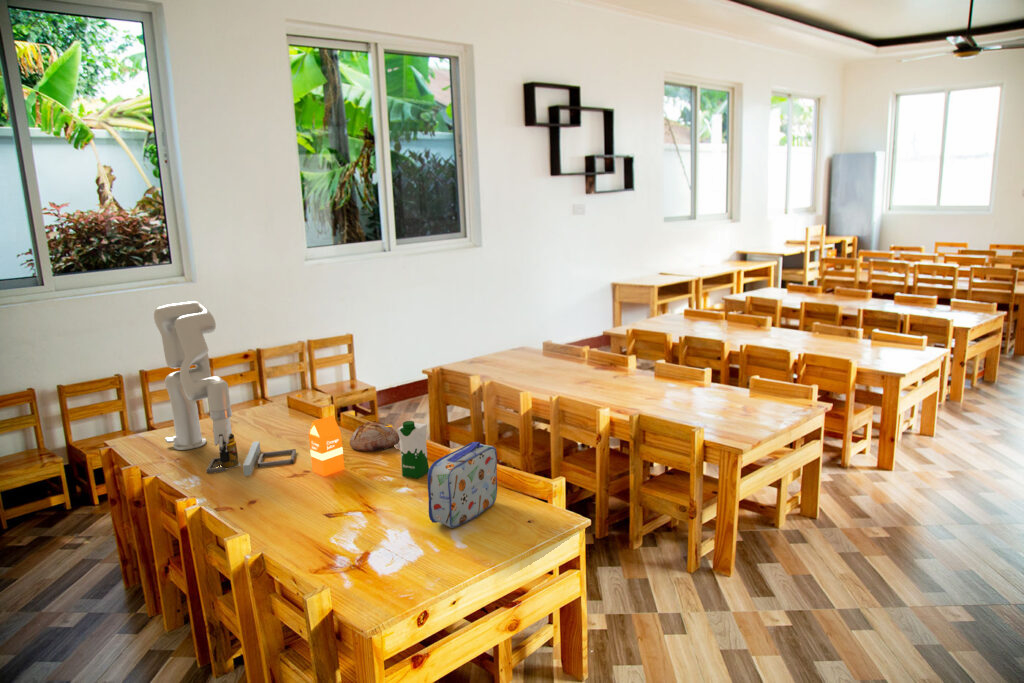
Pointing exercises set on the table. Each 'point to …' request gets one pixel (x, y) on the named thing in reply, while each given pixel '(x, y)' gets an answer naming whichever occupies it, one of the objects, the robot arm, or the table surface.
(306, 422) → the table surface
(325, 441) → the orange juice
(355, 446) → the bread
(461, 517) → the lunch box
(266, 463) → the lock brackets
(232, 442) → the condiment
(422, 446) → the milk carton
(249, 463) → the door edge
